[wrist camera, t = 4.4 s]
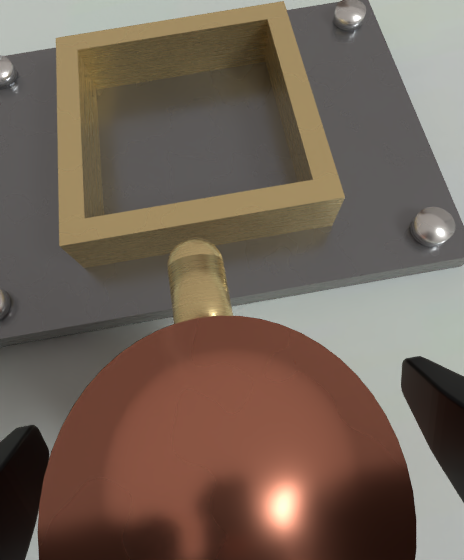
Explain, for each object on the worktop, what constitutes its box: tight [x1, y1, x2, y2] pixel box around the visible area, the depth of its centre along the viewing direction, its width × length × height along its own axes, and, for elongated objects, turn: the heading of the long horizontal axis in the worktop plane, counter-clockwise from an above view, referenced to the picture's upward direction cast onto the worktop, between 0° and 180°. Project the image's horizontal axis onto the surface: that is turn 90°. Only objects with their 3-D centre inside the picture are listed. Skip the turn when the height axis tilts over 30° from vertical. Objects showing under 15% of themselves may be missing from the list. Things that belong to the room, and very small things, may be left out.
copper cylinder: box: [38, 238, 416, 560], centre depth 11 cm, size 8×6×10 cm
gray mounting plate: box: [0, 0, 464, 347], centre depth 18 cm, size 16×22×4 cm
